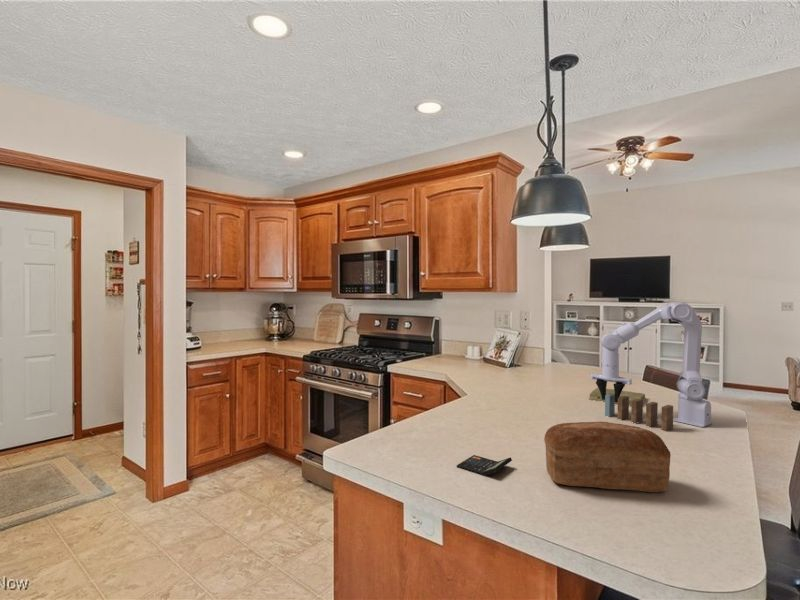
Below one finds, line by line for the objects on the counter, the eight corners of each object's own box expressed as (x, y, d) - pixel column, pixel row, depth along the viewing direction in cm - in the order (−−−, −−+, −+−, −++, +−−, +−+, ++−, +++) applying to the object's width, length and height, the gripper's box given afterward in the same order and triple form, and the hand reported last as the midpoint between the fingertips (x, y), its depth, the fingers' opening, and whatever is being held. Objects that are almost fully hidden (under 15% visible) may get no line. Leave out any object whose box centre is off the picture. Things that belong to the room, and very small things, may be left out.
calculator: (473, 457, 119) (473, 447, 119) (512, 468, 111) (512, 457, 111) (456, 468, 112) (456, 457, 111) (496, 480, 104) (496, 469, 104)
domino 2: (628, 418, 156) (628, 396, 156) (621, 420, 153) (622, 398, 153) (624, 417, 157) (624, 396, 157) (617, 419, 154) (617, 397, 154)
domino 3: (642, 421, 152) (642, 399, 152) (635, 423, 149) (636, 401, 149) (638, 420, 153) (638, 398, 153) (631, 422, 150) (631, 400, 150)
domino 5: (672, 428, 144) (673, 405, 143) (666, 431, 141) (666, 408, 141) (667, 427, 145) (668, 404, 145) (661, 430, 142) (661, 407, 142)
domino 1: (614, 414, 160) (614, 394, 160) (609, 417, 157) (609, 396, 157) (610, 413, 162) (610, 393, 161) (604, 416, 158) (605, 395, 158)
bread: (540, 468, 111) (541, 415, 111) (654, 476, 106) (655, 420, 106) (549, 489, 99) (549, 429, 99) (677, 498, 95) (678, 436, 94)
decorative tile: (596, 393, 197) (596, 385, 197) (645, 400, 184) (645, 392, 184) (586, 401, 182) (587, 393, 182) (639, 409, 170) (639, 400, 170)
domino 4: (657, 424, 148) (657, 402, 148) (650, 427, 145) (651, 404, 145) (652, 423, 149) (652, 401, 149) (645, 426, 146) (646, 403, 146)
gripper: (634, 366, 156) (634, 402, 156) (595, 361, 167) (595, 395, 167) (627, 368, 152) (627, 405, 152) (587, 363, 162) (587, 398, 162)
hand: (610, 400), depth 159 cm, fingers open, 4 cm apart
